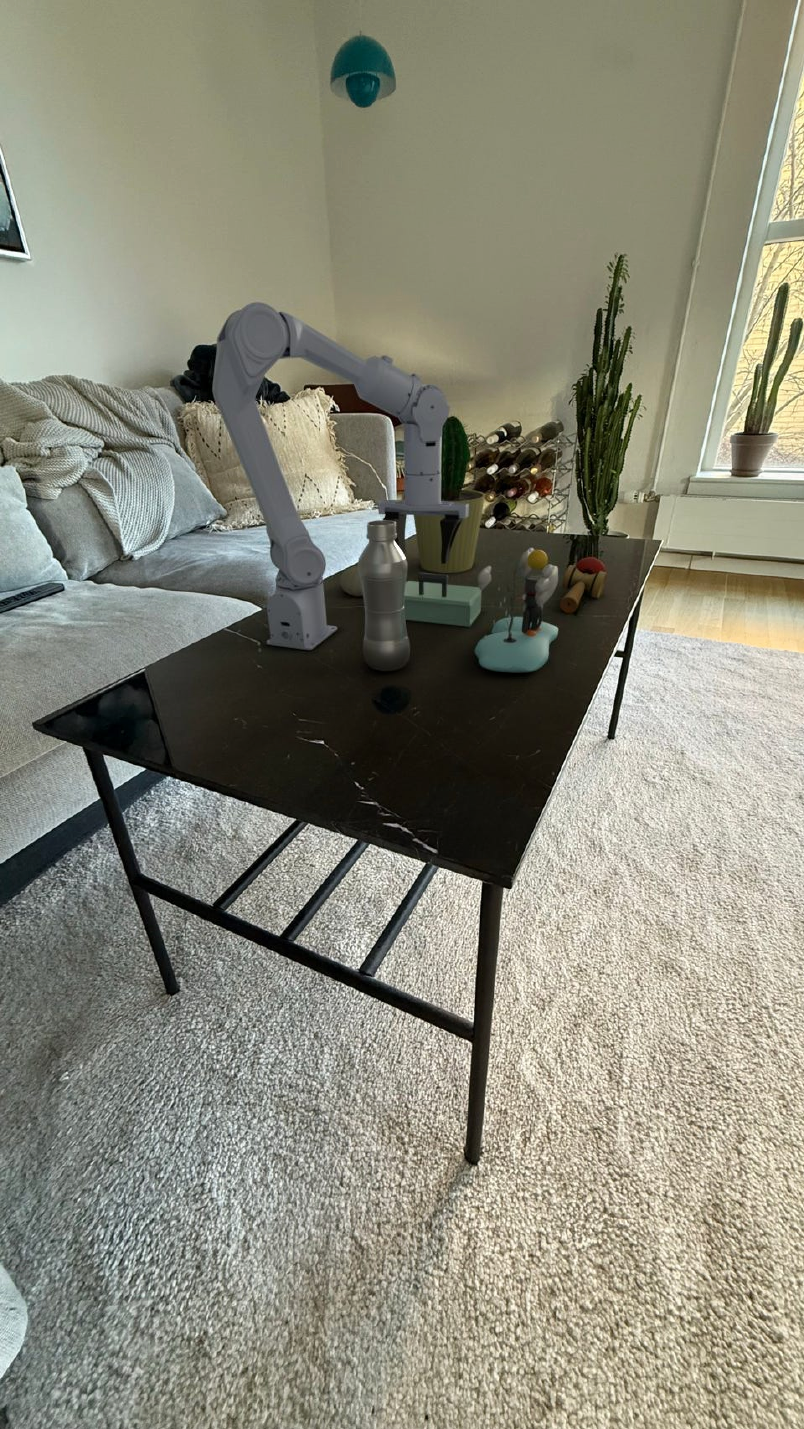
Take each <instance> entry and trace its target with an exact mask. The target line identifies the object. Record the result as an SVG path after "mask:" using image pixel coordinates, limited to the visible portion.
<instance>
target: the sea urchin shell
mask: <svg viewBox="0 0 804 1429" xmlns="http://www.w3.org/2000/svg"><path fill="white" fill-rule="evenodd" d="M339 586H340V588H341V589H342V590H343V592H345V593H347V594H348V595H350V596H354V597H363V592H362V587H361V582H360V577H359V573H358V564H357V565H354V566H351V567H349V568H347V569H345V570H344V571H342V574H341V576H340V578H339Z"/></svg>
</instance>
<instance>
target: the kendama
mask: <svg viewBox="0 0 804 1429" xmlns="http://www.w3.org/2000/svg"><path fill="white" fill-rule="evenodd" d="M607 576H608V575H607V572H606V567H605V565H604V563H603V562H602V561H601V560H600V559H598V558H596V557H593V556H588V557H587V556H586V557H584V558H582V559H580V560H578V561H577V562H576V564H575V565H573V564H570V565H568V567H567V568H566V570H565V573H564V576H563V581H562V585H561V586H562V588H563V589H565V590H569V591H568V592H567V593H566V594H565V595H564V596H563V597H562V599H561V600H560V602H559V608H560V609H561V611H562V612H564V613H566V614H572V613H574V612H575V611H576V610H577V609H578V607H579V603H580V601H581V598H582V596H583V594H584V591H585V590H586V591H587V592H588V593H589V595H590V597H592V598H595V599H599V598H600V596H601V594H602V591H603V589H604V586H605V583H606V580H607Z"/></svg>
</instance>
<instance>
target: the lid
mask: <svg viewBox="0 0 804 1429" xmlns="http://www.w3.org/2000/svg"><path fill="white" fill-rule="evenodd" d="M449 578H450V577H449V575H448V574H442V573H430V572H429V573H427V572H418V573H417V576H416V579H417V580H416V581H415V580H408V581H406V586H405V600H413V601H423V602H433V603H443V604H453V605H462V606H470V605H471V604H472V603H473V601H474V600H475V599H476V598H477V596H478V595H479V594H480V593H481V594H482V590H480V589H479V586H467V585H456V584H449V580H450V579H449Z"/></svg>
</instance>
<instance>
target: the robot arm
mask: <svg viewBox="0 0 804 1429" xmlns="http://www.w3.org/2000/svg"><path fill="white" fill-rule="evenodd" d="M286 359H288V360H289V359H301V360H304V361H305V362H308V363H310V364H313V365H314V366H317V367H319V368H321V369H323V370H325V371H326V372H329V373H332V375H335V376H337V377H340V378H341V379H344V380H345V381H348V382H349V383H352V384H353V385H354V388H355V390H356V393H357V395H358V397H359V399H361V400H362V401H364V402H367V403H368V404H371V405H373V406H375V407H376V408H378V409H380V410H382V411H384V412H386V413H388V414H390V415H392V416H393V417H395V418H398V421H399V422H400V423H401V424H402V425H403V469H404V470H403V471H404V472H403V473H404V474H403V476H404V477H403V478H404V499H381V500H379V501H378V502H377V504H378V505H377V506H378V510H377V511H378V515H384V517H383V518H382V520H389V521H394V522H396V533H397V538H395V543H396V544H397V545H398V546H399V548H400V549H401V551H402V552H403V554H404V556H405V557H406V552H407V551H406V526H407V517H408V515H409V516H414V515H425V516H445V518H444V519H442V520H441V521H440V527H441V537H442V550H441V564H446V563H447V562H448V561H449V556H450V551H451V547H452V544H453V541H454V538H455V536H456V533H457V531H458V529H459V527H460V525H461V523H462V520H463V518H467V517H468V512H469V504H468V503H456V502H448V501H441V445H442V427H443V425H444V423H445V421H446V420H447V418H448V417H449V415H450V411H451V406H450V405H448V402H447V401H448V400H447V398H446V395H445V394H444V391H443V390H442V389H441V388H440V387H438V386H437V385H434V384H422V381H421V376H420V375H419V374H417V373H411V374H410V373H408V372H406V371H404V370H403V369H401V368H399V367H397V366H396V365H395V364H393V362H394V359H393V358H392V357H390V356H388V355H387V354H385V355H381V356H378V355H372V356H370V357H368V358H366V359H363V358H361V356H358V355H357V354H355V353H354V352H352V351H350V350H349V349H348V348H346V347H344V346H342V345H341V344H339V343H338V342H336V341H334V340H332V339H331V338H330V337H328V336H326V335H325V334H323V333H322V332H320V331H318V330H317V329H315V328H313V327H312V326H310V325H308V323H306V322H304V321H302V320H300V319H299V318H297V317H295V316H294V315H292V314H289V313H287V312H285V311H278V310H276V308H274V307H273V306H271V305H270V304H267V303H265V302H258V301H256V302H255V301H254V302H251V303H249V304H246V305H245V306H244V307H242V308H241V309H238V310H235V311H233V312H232V313H231V314H229V316H228V317H227V318H226V320H225V322H224V324H223V325H222V327H221V329H220V331H219V333H218V335H217V337H216V355H215V363H214V371H213V380H212V388H211V389H212V390H211V391H212V396H213V399H214V401H215V404H216V405H217V408H218V411H219V414H220V415H221V419H222V420H223V423H224V425H225V428H226V429H227V432H228V435H229V437H230V440H231V443H232V445H233V448H234V449H235V452H236V455H237V458H238V459H239V462H240V464H241V467H242V469H243V471H244V474H245V476H246V479H247V481H248V484H249V486H250V488H251V491H252V493H253V496H254V498H255V500H256V503H257V505H258V508H259V511H260V513H261V515H262V518H263V521H264V522H265V528H266V535H267V537H268V539H269V556H270V560H271V562H272V564H273V565H274V566H275V567H276V569H278V571H277V573H276V576H275V590H274V592H273V594H272V595H271V596H270V597H269V599H268V600H267V603H266V614H267V621H268V628H269V629H268V630H269V635H270V636H269V637H270V638H269V639H267V640H266V645H267V646H268V645H269V646H275V647H282V648H289V649H297V650H305V651H311V650H312V651H313V650H314V649H315V648H316V647H317V646H319V645H320V644H321V643H322V642H324V641H325V640H326V639H327V638H328V637H330V636H331V635H332V634H334V633H335V632H336V631H338V627H337V626H336V625H328V624H327V612H326V610H327V609H326V600H325V589H324V588H325V587H324V577H323V576H324V574H325V572H326V568H327V561H326V557H325V554H324V553H323V551H322V550H321V548H319V547H318V546H316V545H315V543H314V542H313V540H312V538H311V536H310V533H309V530H308V529H307V528H306V526H305V523H304V522H303V521H302V519H301V517H300V516H299V513H298V510H297V507H296V505H295V502H294V500H293V496H292V494H291V491H290V489H289V486H288V483H287V481H286V478H285V476H284V473H283V471H282V468H281V465H280V462H279V460H278V457H277V455H276V452H275V449H274V446H273V444H272V441H271V438H270V436H269V433H268V430H267V428H266V426H265V423H264V420H263V418H262V414H261V411H260V410H259V407H258V404H257V402H256V396H257V394H258V392H259V389H260V387H261V385H262V382H263V380H264V378H265V375H266V374H267V373H268V372H269V370H270V369H272V367H274V365H275V364H276V363H277V362H278V361H279V360H286ZM424 511H433V512H424Z"/></svg>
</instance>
